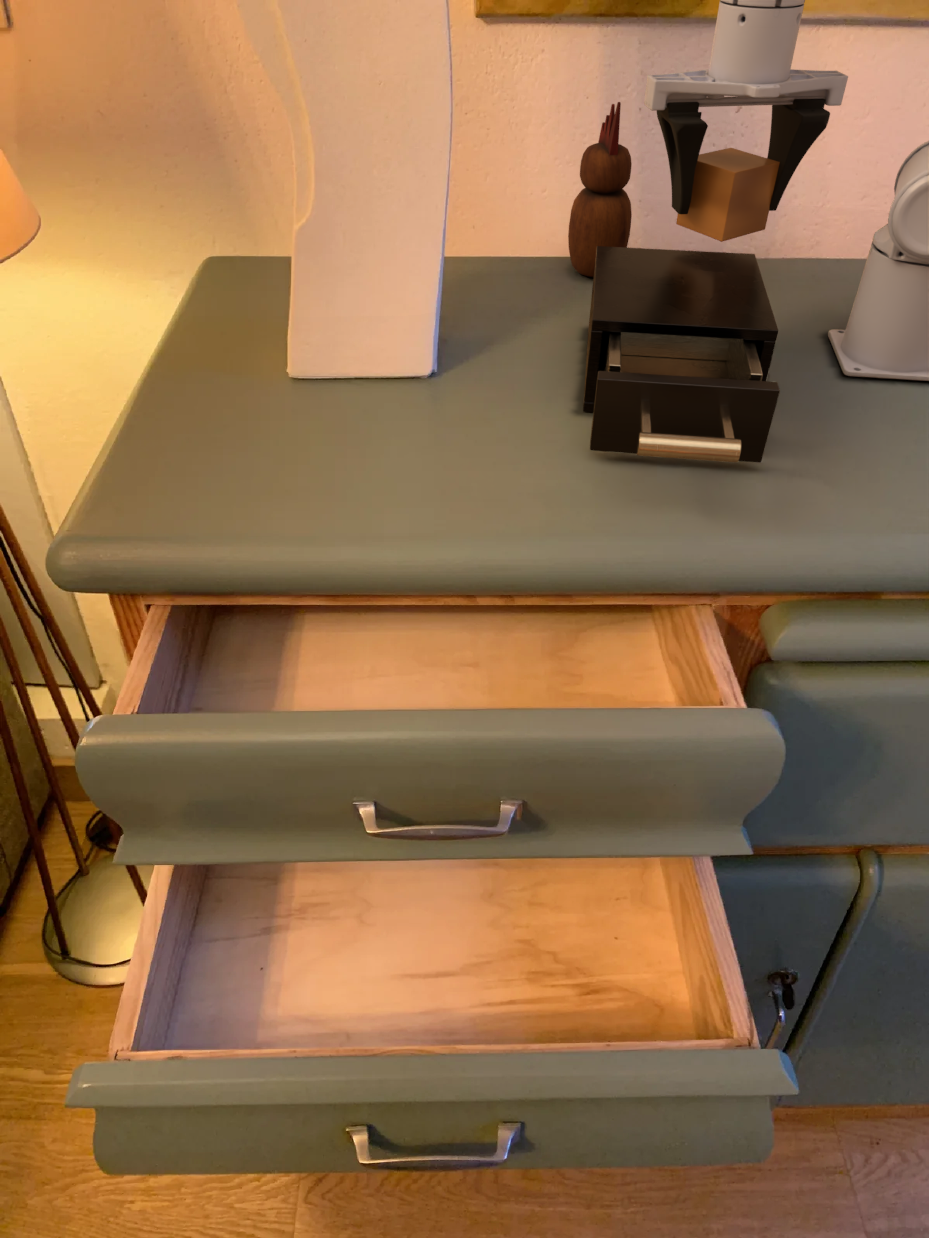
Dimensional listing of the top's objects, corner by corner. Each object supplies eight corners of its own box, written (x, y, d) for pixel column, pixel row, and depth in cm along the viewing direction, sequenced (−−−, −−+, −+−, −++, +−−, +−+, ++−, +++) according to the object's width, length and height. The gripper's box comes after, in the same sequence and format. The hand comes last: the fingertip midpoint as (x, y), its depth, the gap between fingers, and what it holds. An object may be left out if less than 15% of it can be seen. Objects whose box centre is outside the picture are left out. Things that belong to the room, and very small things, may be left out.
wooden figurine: (622, 286, 84) (644, 108, 74) (561, 281, 85) (575, 104, 75) (627, 261, 89) (648, 90, 79) (569, 256, 90) (583, 87, 80)
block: (718, 213, 74) (730, 147, 71) (765, 229, 71) (780, 162, 68) (675, 224, 72) (686, 157, 69) (721, 242, 69) (735, 172, 66)
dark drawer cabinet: (755, 423, 65) (778, 330, 60) (582, 412, 66) (592, 319, 62) (736, 338, 76) (755, 254, 71) (588, 329, 77) (596, 246, 72)
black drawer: (771, 511, 55) (793, 436, 52) (587, 497, 56) (595, 423, 53) (741, 371, 69) (756, 304, 66) (594, 362, 70) (601, 296, 67)
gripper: (678, 13, 58) (648, 229, 67) (888, 9, 60) (831, 221, 69) (647, -3, 63) (624, 199, 72) (841, -6, 65) (794, 193, 74)
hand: (723, 208), depth 71 cm, fingers closed on block, 7 cm apart
